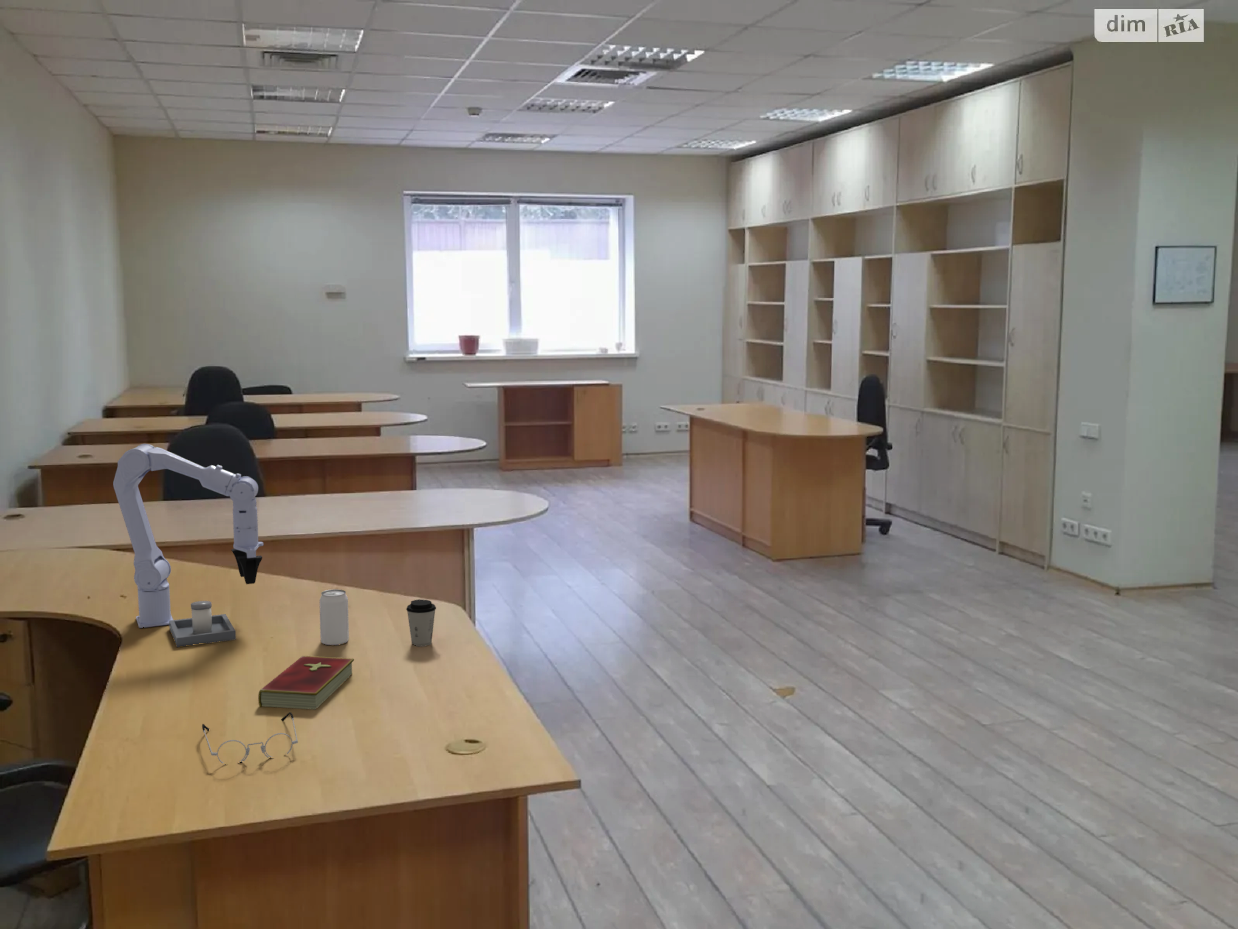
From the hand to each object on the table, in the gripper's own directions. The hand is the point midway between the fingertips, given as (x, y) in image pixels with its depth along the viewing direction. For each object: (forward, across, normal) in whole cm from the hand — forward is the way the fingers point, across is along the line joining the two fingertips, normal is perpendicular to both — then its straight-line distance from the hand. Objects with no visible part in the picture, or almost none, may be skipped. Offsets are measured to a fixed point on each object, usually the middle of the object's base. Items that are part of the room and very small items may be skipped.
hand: (247, 580), depth 269 cm
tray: (+10, -7, +12) cm, 17 cm away
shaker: (+10, -7, +12) cm, 17 cm away
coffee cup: (+11, -36, -33) cm, 50 cm away
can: (+11, -26, -15) cm, 32 cm away
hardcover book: (+11, -55, -2) cm, 56 cm away
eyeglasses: (+11, -77, +13) cm, 79 cm away
